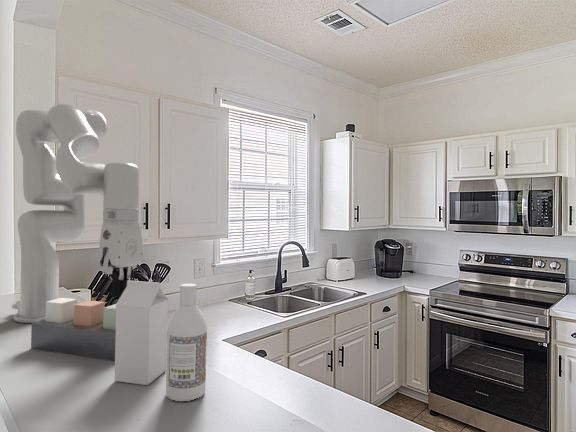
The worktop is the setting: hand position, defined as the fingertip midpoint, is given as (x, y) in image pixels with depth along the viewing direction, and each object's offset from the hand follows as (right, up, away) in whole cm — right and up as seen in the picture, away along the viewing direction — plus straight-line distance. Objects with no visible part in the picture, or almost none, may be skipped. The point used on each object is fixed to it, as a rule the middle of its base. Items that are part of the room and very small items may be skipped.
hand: (120, 296), depth 92 cm
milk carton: (+9, -14, -12) cm, 21 cm away
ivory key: (-16, -8, +4) cm, 18 cm away
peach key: (-8, -8, +2) cm, 12 cm away
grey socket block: (-8, -13, +2) cm, 15 cm away
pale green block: (-1, -8, 0) cm, 8 cm away
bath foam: (+20, -14, -19) cm, 31 cm away
